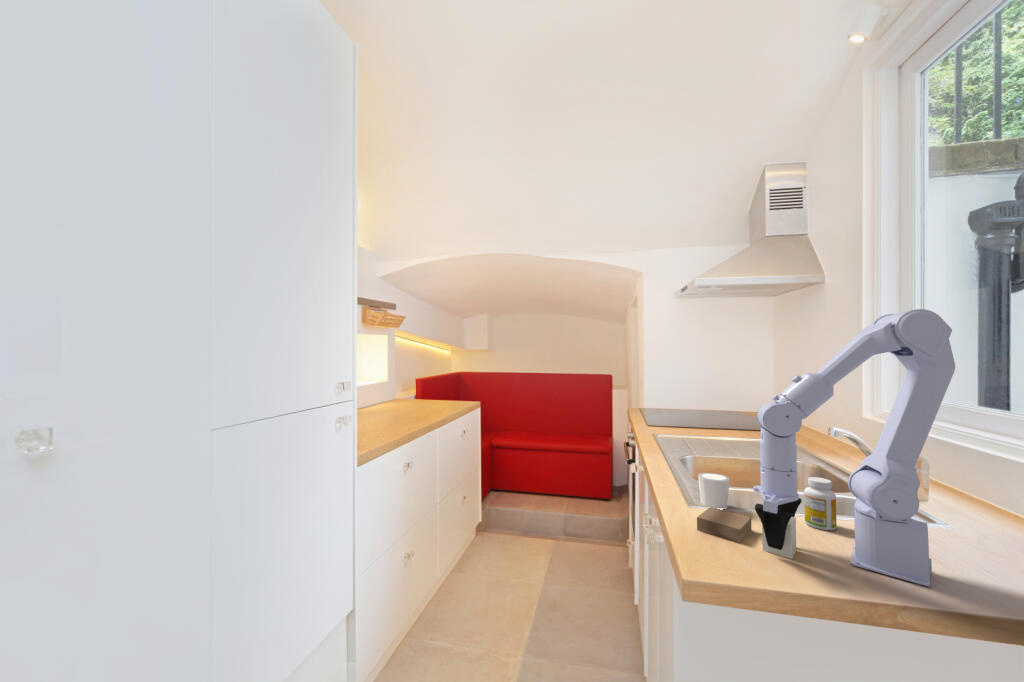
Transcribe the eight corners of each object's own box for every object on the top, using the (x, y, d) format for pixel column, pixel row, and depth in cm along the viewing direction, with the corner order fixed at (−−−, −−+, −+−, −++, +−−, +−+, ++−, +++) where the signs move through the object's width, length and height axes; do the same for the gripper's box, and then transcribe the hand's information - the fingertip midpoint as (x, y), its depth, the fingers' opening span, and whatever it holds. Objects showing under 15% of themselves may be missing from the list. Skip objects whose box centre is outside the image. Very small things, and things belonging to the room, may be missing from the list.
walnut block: (751, 532, 83) (751, 517, 83) (740, 545, 77) (739, 529, 77) (710, 520, 88) (710, 506, 89) (697, 531, 83) (697, 517, 83)
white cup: (732, 513, 92) (732, 482, 92) (699, 508, 94) (699, 478, 95) (727, 502, 98) (727, 473, 99) (697, 499, 101) (696, 470, 101)
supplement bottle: (825, 521, 88) (824, 476, 88) (843, 531, 82) (842, 484, 83) (799, 519, 88) (798, 475, 89) (815, 530, 83) (814, 483, 83)
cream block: (796, 550, 74) (795, 517, 75) (791, 559, 71) (791, 525, 71) (768, 542, 78) (767, 511, 78) (762, 550, 74) (762, 517, 75)
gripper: (762, 456, 83) (763, 523, 82) (743, 470, 72) (744, 547, 72) (804, 463, 78) (805, 533, 78) (790, 479, 68) (791, 561, 67)
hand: (779, 541), depth 74 cm, fingers open, 6 cm apart
